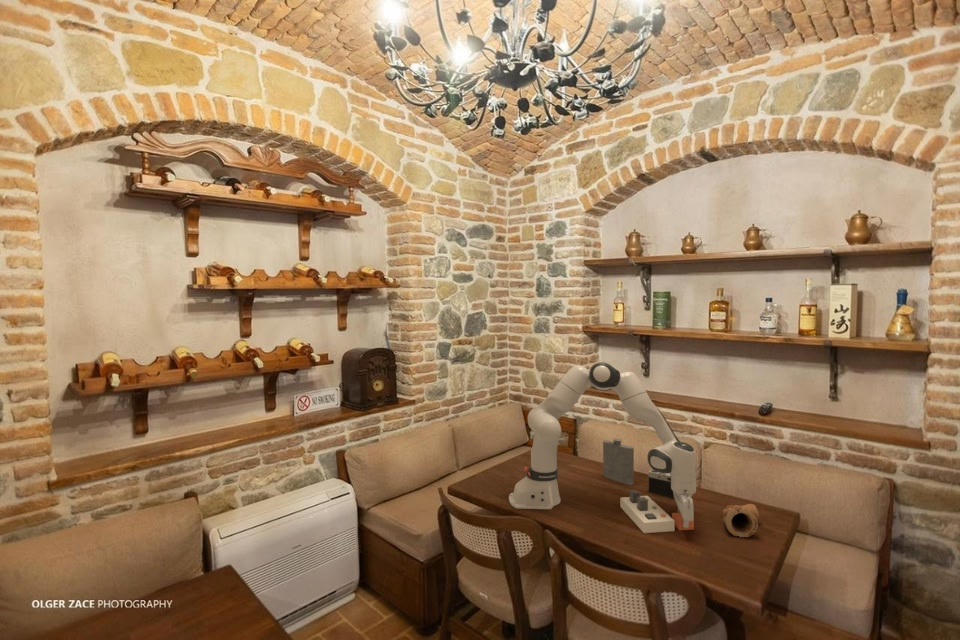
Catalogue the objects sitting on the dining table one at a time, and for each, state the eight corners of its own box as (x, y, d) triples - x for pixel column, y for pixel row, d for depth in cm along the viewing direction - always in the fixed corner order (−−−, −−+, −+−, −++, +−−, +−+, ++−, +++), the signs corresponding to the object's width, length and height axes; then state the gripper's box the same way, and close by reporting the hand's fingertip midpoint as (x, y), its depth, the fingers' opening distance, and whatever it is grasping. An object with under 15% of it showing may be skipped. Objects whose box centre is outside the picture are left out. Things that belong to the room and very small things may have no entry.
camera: (685, 494, 209) (686, 472, 209) (680, 500, 203) (680, 477, 202) (653, 486, 218) (654, 465, 217) (648, 492, 211) (648, 470, 211)
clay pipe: (710, 534, 182) (738, 541, 167) (704, 505, 184) (731, 509, 170) (752, 527, 186) (782, 533, 171) (745, 498, 188) (775, 502, 174)
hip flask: (634, 483, 221) (635, 442, 220) (630, 486, 218) (630, 444, 217) (605, 474, 233) (605, 434, 232) (600, 476, 230) (600, 436, 229)
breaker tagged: (648, 528, 179) (648, 517, 178) (645, 525, 182) (645, 513, 181) (656, 528, 179) (656, 516, 179) (652, 524, 182) (652, 513, 182)
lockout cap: (679, 530, 178) (679, 520, 177) (671, 523, 183) (672, 513, 183) (693, 529, 178) (694, 519, 178) (685, 522, 184) (685, 512, 184)
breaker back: (632, 504, 192) (632, 493, 192) (629, 500, 195) (629, 490, 195) (639, 503, 193) (639, 492, 192) (636, 500, 196) (636, 489, 195)
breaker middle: (640, 511, 185) (640, 500, 185) (637, 508, 188) (637, 497, 188) (647, 511, 186) (647, 500, 185) (644, 508, 189) (644, 497, 188)
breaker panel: (644, 533, 176) (644, 521, 176) (620, 506, 198) (620, 496, 197) (674, 531, 177) (674, 519, 177) (647, 505, 199) (647, 494, 199)
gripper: (698, 497, 169) (698, 535, 170) (686, 476, 189) (686, 509, 190) (679, 496, 171) (679, 533, 171) (670, 475, 190) (670, 508, 191)
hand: (683, 520), depth 181 cm, fingers open, 8 cm apart
